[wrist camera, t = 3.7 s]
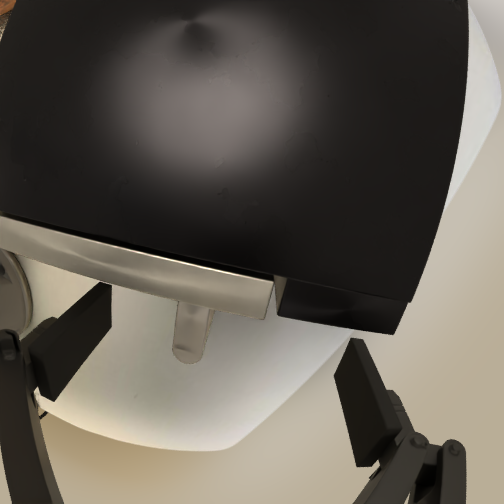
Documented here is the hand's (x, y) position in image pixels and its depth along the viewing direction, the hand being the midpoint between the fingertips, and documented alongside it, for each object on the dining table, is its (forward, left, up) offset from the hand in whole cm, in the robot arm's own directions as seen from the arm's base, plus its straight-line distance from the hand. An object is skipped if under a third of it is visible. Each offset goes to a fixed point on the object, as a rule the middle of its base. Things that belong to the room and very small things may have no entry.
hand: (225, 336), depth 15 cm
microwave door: (+2, +6, -14) cm, 15 cm away
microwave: (+12, +3, -14) cm, 19 cm away
